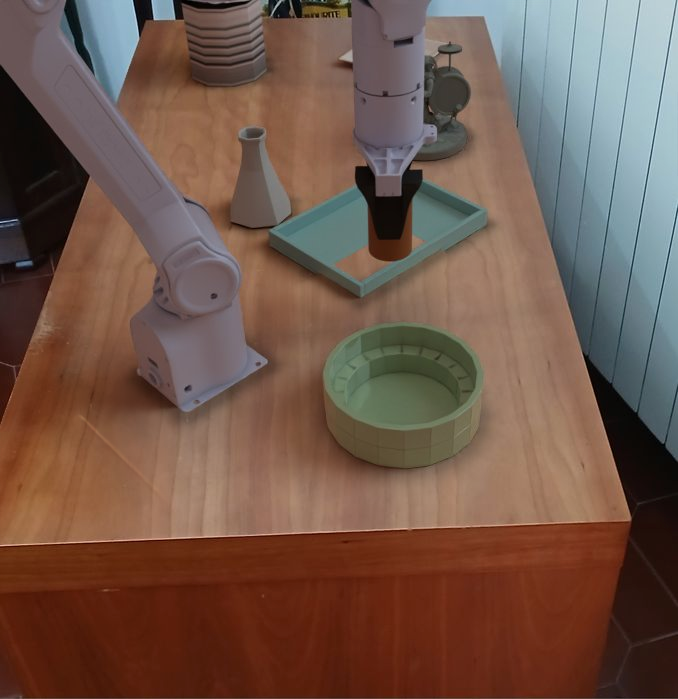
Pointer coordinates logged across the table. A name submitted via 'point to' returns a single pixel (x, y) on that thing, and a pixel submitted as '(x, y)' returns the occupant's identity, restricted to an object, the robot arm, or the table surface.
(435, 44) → the dessert
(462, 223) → the tray
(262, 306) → the table surface
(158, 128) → the table surface
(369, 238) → the brown cylinder
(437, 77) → the figurine
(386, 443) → the bowl
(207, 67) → the can
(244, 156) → the flask
